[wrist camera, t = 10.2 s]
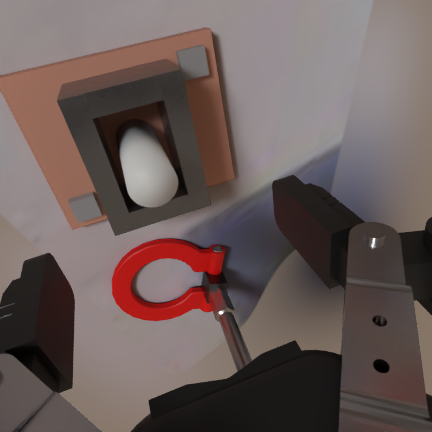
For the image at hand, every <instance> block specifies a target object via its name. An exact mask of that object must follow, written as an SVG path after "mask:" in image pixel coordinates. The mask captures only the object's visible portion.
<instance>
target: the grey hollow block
mask: <svg viewBox="0 0 432 432" xmlns="http://www.w3.org/2000/svg"><path fill="white" fill-rule="evenodd" d="M154 102H156V103H157V106H158V110H159V114H160V117H161V121H162V125H163V129H164V132H165V136H166V140H167V143H168V147H169V151H170V154H171V158H172V162H173V166H174V168H173V169H174V171H175V173H176V175H177V177H178V188H177V191H176V193H175V195H174V196H173V198H172V199H171V200H170V201H169V202H167V203H166V204H164V205H161V206H158V207H144V206H141V205H139V204H137V203H135V202H134V201H133V200H132V199H131V197H130V196H129V194H128V191H127V187H126V183H122V180H121V177H120V175H119V172H118V169H117V167H116V164H115V162H114V159H113V156H112V154H111V151H110V148H109V146H108V143H107V140H106V138H105V135H104V132H103V130H102V127H101V124H100V122H99V119H98V117H102V116H106V115H109V114H113V113H117V112H121V111H124V110H128V109H132V108H136V107H139V106H143V105H147V104H151V103H154ZM57 103H58V105H59V107H60V110H61V112H62V114H63V116H64V119H65V121H66V123H67V126H68V128H69V130H70V133H71V135H72V137H73V139H74V142H75V144H76V146H77V149H78V151H79V153H80V156H81V158H82V160H83V163H84V165H85V167H86V169H87V172H88V174H89V176H90V179H91V181H92V183H93V186H94V188H95V190H96V192H97V195H98V197H99V199H100V202H101V204H102V206H103V209H104V211H105V213H106V216H107V218H108V220H109V222H110V225H111V227H112V229H113V232H114V234H115V236H117V235H120V234H123V233H126V232H129V231H132V230H135V229H138V228H141V227H144V226H147V225H150V224H154V223H157V222H160V221H163V220H166V219H169V218H172V217H175V216H178V215H181V214H184V213H187V212H190V211H193V210H196V209H200V208H203V207H206V206H209V205H211V203H210V199H209V194H208V189H207V185H206V180H205V176H204V171H203V166H202V162H201V157H200V153H199V148H198V143H197V139H196V134H195V130H194V125H193V120H192V116H191V111H190V107H189V102H188V97H187V93H186V88H185V84H184V79H183V74H182V70H181V68H179V67H178V66H176V65H175V64H173V63H172V62H170V61H169V60H167V59H162V60H157V61H153V62H149V63H145V64H141V65H137V66H133V67H129V68H125V69H121V70H117V71H113V72H109V73H105V74H101V75H97V76H93V77H89V78H85V79H81V80H77V81H72V82H68V83H64V84H62V85H61V88H60V91H59V95H58V98H57Z"/></svg>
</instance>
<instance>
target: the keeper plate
mask: <svg viewBox="0 0 432 432" xmlns="http://www.w3.org/2000/svg"><path fill="white" fill-rule="evenodd" d="M162 59H167V60H169V61H170V62H172V63H173V64H175V65H176V66H178V67H179V68H181V70H182V74H183V79H184V84H185V88H186V93H187V97H188V102H189V107H190V111H191V116H192V120H193V125H194V130H195V134H196V139H197V143H198V148H199V153H200V157H201V162H202V166H203V171H204V176H205V180H206V185H207V187H210V186H213V185H216V184H220V183H223V182H226V181H229V180H232V179H235V178H234V172H233V166H232V160H231V153H230V147H229V141H228V135H227V128H226V122H225V116H224V110H223V103H222V97H221V91H220V84H219V78H218V72H217V66H216V59H215V53H214V47H213V41H212V34H211V29H210V28H202V29H198V30H194V31H189V32H185V33H181V34H176V35H172V36H168V37H164V38H159V39H155V40H151V41H147V42H142V43H138V44H134V45H129V46H125V47H121V48H117V49H112V50H108V51H104V52H100V53H95V54H91V55H87V56H82V57H78V58H74V59H70V60H65V61H61V62H57V63H53V64H48V65H44V66H40V67H36V68H31V69H27V70H23V71H18V72H14V73H10V74H6V75H1V76H0V90H1V92H2V94H3V96H4V98H5V100H6V102H7V104H8V106H9V108H10V110H11V112H12V114H13V116H14V118H15V120H16V122H17V123H18V125H19V127H20V129H21V131H22V133H23V135H24V137H25V139H26V141H27V143H28V145H29V147H30V149H31V151H32V153H33V155H34V156H35V158H36V160H37V162H38V164H39V166H40V168H41V170H42V172H43V174H44V176H45V178H46V180H47V182H48V184H49V186H50V188H51V189H52V191H53V193H54V195H55V197H56V199H57V201H58V203H59V205H60V207H61V209H62V211H63V213H64V215H65V217H66V219H67V221H68V222H69V224H70V226H71V228H72V230H73V229H77V228H80V227H83V226H86V225H89V224H92V223H96V222H99V221H102V220H105V219H108V218H107V216H106V213H105V211H104V209H103V206H102V204H101V202H100V199H99V197H98V195H97V192H96V190H95V188H94V186H93V183H92V181H91V179H90V176H89V174H88V172H87V169H86V167H85V165H84V163H83V160H82V158H81V156H80V153H79V151H78V149H77V146H76V144H75V142H74V139H73V137H72V135H71V133H70V130H69V128H68V126H67V123H66V121H65V119H64V116H63V114H62V112H61V110H60V107H59V105H58V103H57V98H58V95H59V91H60V88H61V85H62V84H64V83H68V82H72V81H77V80H81V79H85V78H89V77H93V76H97V75H101V74H105V73H109V72H113V71H117V70H121V69H125V68H129V67H133V66H137V65H141V64H145V63H149V62H153V61H157V60H162ZM98 119H99V122H100V124H101V127H102V130H103V132H104V135H105V138H106V140H107V143H108V146H109V148H110V151H111V154H112V156H113V159H114V162H115V164H116V167H117V169H118V172H119V175H120V177H121V180H122V183H126V187H127V191H128V194H129V196H130V197H131V199H132V200H133V201H134V202H135V203H137V204H139V205H141V206H144V207H158V206H161V205H164V204H166V203H167V202H169V201H170V200H171V199H172V198H173V196H174V195H175V193H176V191H177V188H178V177H177V175H176V173H175V171H174V169H173V168H174V166H173V162H172V158H171V154H170V151H169V147H168V143H167V140H166V136H165V132H164V129H163V125H162V121H161V117H160V114H159V110H158V106H157V103H156V102H154V103H151V104H147V105H143V106H139V107H136V108H132V109H128V110H124V111H121V112H117V113H113V114H109V115H106V116H102V117H98Z"/></svg>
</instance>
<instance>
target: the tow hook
mask: <svg viewBox="0 0 432 432" xmlns="http://www.w3.org/2000/svg"><path fill="white" fill-rule="evenodd" d="M224 255H225V248H224V247H223V246H221V245H211V246H210V247H209V249H199V248H198V247H196V246H195V245H193V244H191V243H188V242H186V241H183V240H177V239H157V240H154V241H150V242H146V243H143V244H142V245H140V246H138V247H136V248H134V249H132V250H131V251H130V252H129V253H127V254H126V255H125V256H124V257H123V258H122V259H121V260H120V262H119V263H118V265H117V267H116V268H115V271H114V274H113V277H112V294H113V297H114V299H115V301H116V304H117V305H118V306H119V307H120V308H121V309H122V310H123V311H124V312H126V313H127V314H129V315H131V316H133V317H135V318H139V319H142V320H150V321H160V320H168V319H172V318H175V317H178V316H181V315H183V314H185V313H187V312H188V311H190V310H192V309H201V310H202V311H204V312H211V311H213V313H214V316H215V319H216V320H217V321H219V322H220V324H221V327H222V329H223V332H224V335H225V338H226V341H227V343H228V346H229V349H230V352H231V354H232V357H233V360H234V363H235V366H236V368H237V371H239V370H240V369H242V368H243V367H245V366H246V365H247V364H249V363H250V362H251V361H252V359H251V356H250V354H249V352H248V349H247V347H246V344H245V342H244V339H243V337H242V335H241V332H240V330H239V327H238V325H237V323H236V320H235V318H234V314H235V310H234V307H233V305H232V303H231V300H230V298H229V296H228V293H227V291H226V290H227V286H228V283H227V281H226V279H225V276H224V274H223V272H222V265H223V260H224ZM164 258H172V259H178V260H181V261H183V262H185V263H187V264H188V265H189V266H190V267H191V268H192V269H193V271H195V272H204V274H203V279H202V285H201V287H197V288H190V289H189V290H188V291H187V292H186V293H185V294H184V295H182V296H181V297H179V298H177V299H176V300H174V301H170V302H167V303H160V304H156V303H149V302H146V301H143V300H141V299H140V298H138V297H137V296H136V295H135V294H134V292H133V291H132V288H131V282H132V279H133V277H134V275H135V274H136V273H137V271H138V270H139V269H140V268H142V267H143V266H144V265H146V264H148V263H150V262H152V261H155V260H158V259H164Z"/></svg>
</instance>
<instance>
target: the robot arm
mask: <svg viewBox="0 0 432 432" xmlns="http://www.w3.org/2000/svg"><path fill="white" fill-rule="evenodd" d="M272 190H273V202H274V214H275V220H276V223H277V225H278V227H279V229H280V231H281V232H282V233H283V234H284V235H285V237H286V238H287V239H288V240H289V241H290V243H291V244H292V245H293V246H294V247H295V249H296V250H297V251H298V252H299V253H300V255H301V256H302V257H303V258H304V259H305V261H306V262H307V263H308V264H309V265H310V267H311V268H312V269H313V270H314V271H315V273H316V274H317V275H318V276H319V277H320V279H321V280H322V281H323V282H324V283H325V285H326V286H327V287H328V288H329V289H331V288H333V287H336V286H338V285H341V286H342V287H343V288H344V289H345V293H344V309H343V324H342V325H343V326H342V341H341V355H339V354H336V353H333V352H328V351H320V350H304V351H301V349H300V347H299V346H298V344H297V342H296V341H292V342H290V343H287V344H285V345H283V346H280V347H277V348H275V349H273V350H270V351H268V352H265V353H263V354H261V355H259V356H258V357H257V358H255V359H254V360H253V361H251V362H250V363H249V364H247V365H246V366H245V367H243V368H242V369H240V370H239V371H238V372H237V373H235V374H234V375H232V376H231V377H229V378H227V379H222V380H216V381H208V382H202V383H195V384H188V385H185V386H182V387H180V388H177V389H175V390H172V391H170V392H167V393H165V394H162V395H160V396H158V397H155V398H153V399H151V400H149V406H150V414H149V415H148V416H146V417H145V418H144V419H143V420H142V421H141V422H140V423H139V424H137V425H136V427H135V428H134V429H133V430H132V431H131V432H432V396H431V395H428V394H426V392H425V385H424V377H423V369H422V361H421V353H420V346H419V339H418V330H417V323H416V315H415V307H414V300H417V301H418V302H419V303H420V304H421V305H422V306H423V307H424V308H425V309H426V310H427V311H428V312H429V313H430V314H431V315H432V217H431V218H430V219H428V221H427V223H426V226H425V230H423V231H413V232H405V233H397V231H396V230H395V229H393V228H392V227H390V226H388V225H385V224H382V223H376V222H364V221H363V220H362V219H360V218H359V217H358V216H357V215H356V214H354V213H353V212H352V211H351V210H349V209H348V208H347V207H346V206H344V205H343V204H342V203H339V201H338V200H337V199H336V198H335V197H332V195H331V194H330V193H328V192H327V191H326V190H325V189H323V188H322V187H319V186H316V185H313V184H311V183H309V184H306V185H305V184H304V183H303V182H301V181H300V180H299V179H298V178H297V177H296V176H294V175H291V176H288V177H285V178H281V179H278V180H275V181H273V184H272ZM74 310H75V300H74V294H73V291H72V288H71V286H70V285H69V282H68V280H67V279H66V277H65V275H64V274H63V272H62V270H61V269H60V267H59V265H58V264H57V262H56V260H55V259H54V257H53V256H52V255H51V254H50V253H47V254H44V255H40V256H37V257H34V258H31V259H28V260H25V261H24V264H23V268H22V272H21V277H20V278H19V279H16V280H13V281H12V282H11V283H10V285H9V286H8V288H7V289H6V290H5V292H4V293H3V296H2V299H1V303H0V432H102V431H100V430H99V429H98V428H97V427H96V426H95V425H94V424H93V423H91V422H90V421H89V420H88V419H87V418H86V417H85V416H84V415H82V414H81V413H80V412H79V411H78V410H77V409H76V408H74V407H73V406H72V405H71V404H70V403H69V402H68V401H67V400H65V399H64V398H63V397H62V396H61V395H60V394H59V393H60V392H63V391H66V390H68V389H71V388H72V383H73V382H72V381H73V347H74V346H73V345H74Z"/></svg>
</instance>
